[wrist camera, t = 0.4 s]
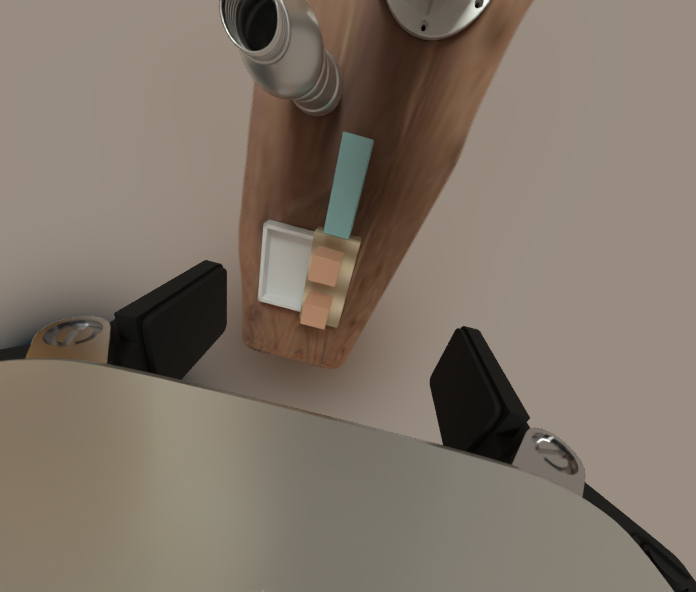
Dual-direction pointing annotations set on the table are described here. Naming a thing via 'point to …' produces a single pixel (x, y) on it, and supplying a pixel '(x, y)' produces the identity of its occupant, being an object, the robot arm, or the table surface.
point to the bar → (348, 184)
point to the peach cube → (316, 310)
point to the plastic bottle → (285, 51)
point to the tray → (284, 264)
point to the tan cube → (325, 266)
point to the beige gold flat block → (347, 266)
